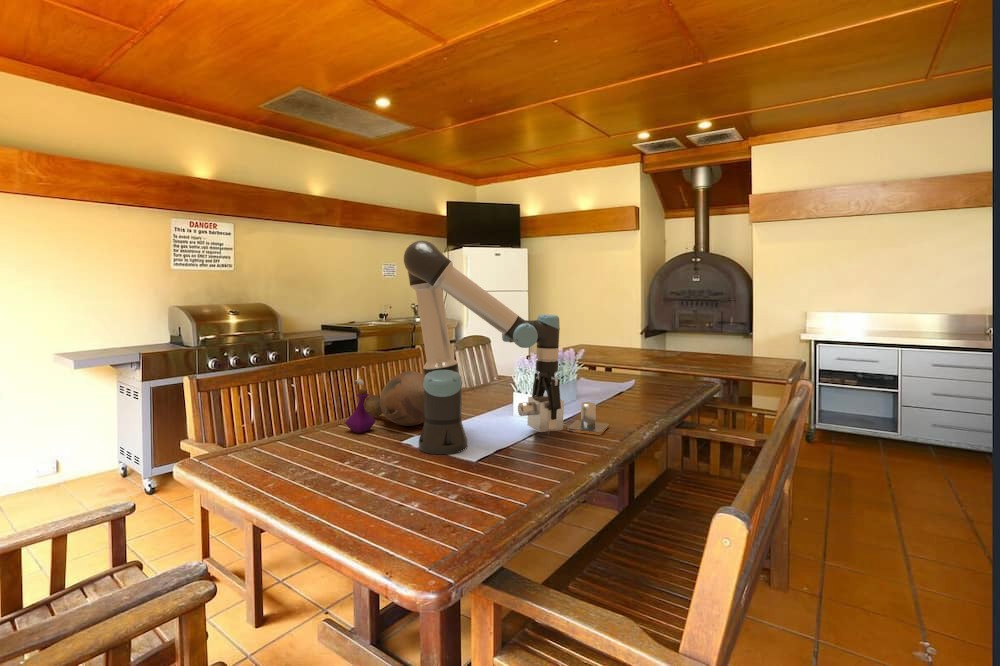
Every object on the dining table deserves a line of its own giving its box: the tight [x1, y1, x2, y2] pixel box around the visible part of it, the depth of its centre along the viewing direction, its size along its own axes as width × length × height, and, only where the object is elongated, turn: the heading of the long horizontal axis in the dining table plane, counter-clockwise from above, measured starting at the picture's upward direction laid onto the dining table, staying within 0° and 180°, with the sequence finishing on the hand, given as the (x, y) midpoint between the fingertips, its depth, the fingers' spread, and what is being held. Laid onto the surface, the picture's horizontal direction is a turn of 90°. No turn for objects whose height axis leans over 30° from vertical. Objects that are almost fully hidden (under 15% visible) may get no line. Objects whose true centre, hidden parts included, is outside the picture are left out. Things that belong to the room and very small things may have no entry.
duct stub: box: [566, 401, 610, 433], centre depth 181 cm, size 12×12×9 cm
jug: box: [364, 370, 425, 427], centre depth 188 cm, size 20×20×30 cm
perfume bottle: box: [344, 378, 376, 434], centre depth 177 cm, size 8×8×18 cm
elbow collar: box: [517, 395, 565, 433], centre depth 175 cm, size 14×9×10 cm, turn 113°
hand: (545, 424), depth 177 cm, fingers closed on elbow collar, 9 cm apart
